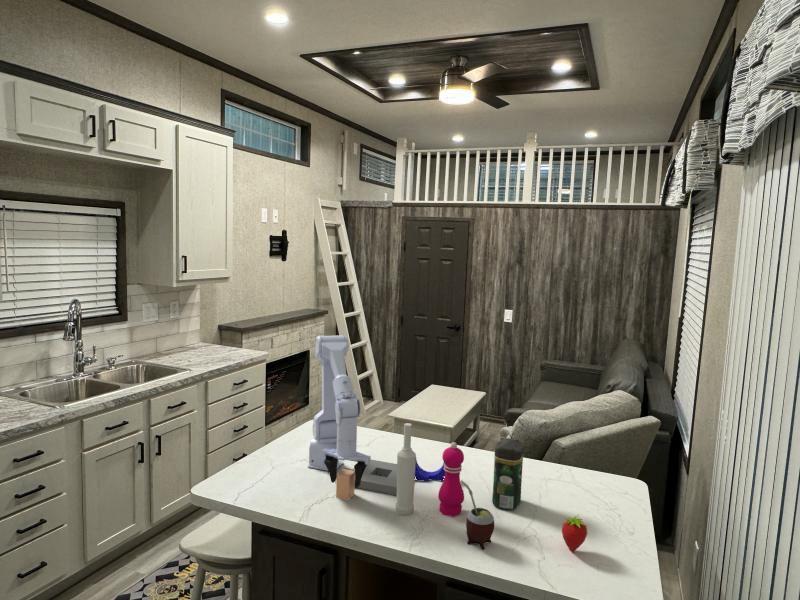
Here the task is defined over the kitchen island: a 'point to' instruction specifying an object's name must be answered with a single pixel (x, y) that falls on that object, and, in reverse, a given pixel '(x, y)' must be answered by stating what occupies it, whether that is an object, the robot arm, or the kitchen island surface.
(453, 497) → the pepper mill
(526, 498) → the kitchen island surface
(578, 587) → the kitchen island surface
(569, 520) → the strawberry
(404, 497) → the bottle
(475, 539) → the mate gourd
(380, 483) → the socket plate
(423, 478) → the cable clip
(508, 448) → the coffee jar
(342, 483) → the plug
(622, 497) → the kitchen island surface
